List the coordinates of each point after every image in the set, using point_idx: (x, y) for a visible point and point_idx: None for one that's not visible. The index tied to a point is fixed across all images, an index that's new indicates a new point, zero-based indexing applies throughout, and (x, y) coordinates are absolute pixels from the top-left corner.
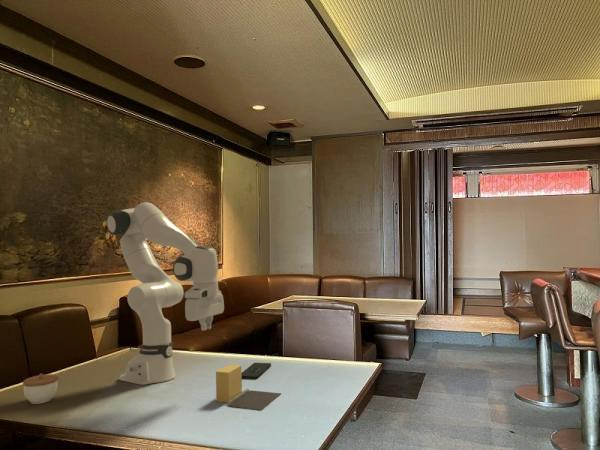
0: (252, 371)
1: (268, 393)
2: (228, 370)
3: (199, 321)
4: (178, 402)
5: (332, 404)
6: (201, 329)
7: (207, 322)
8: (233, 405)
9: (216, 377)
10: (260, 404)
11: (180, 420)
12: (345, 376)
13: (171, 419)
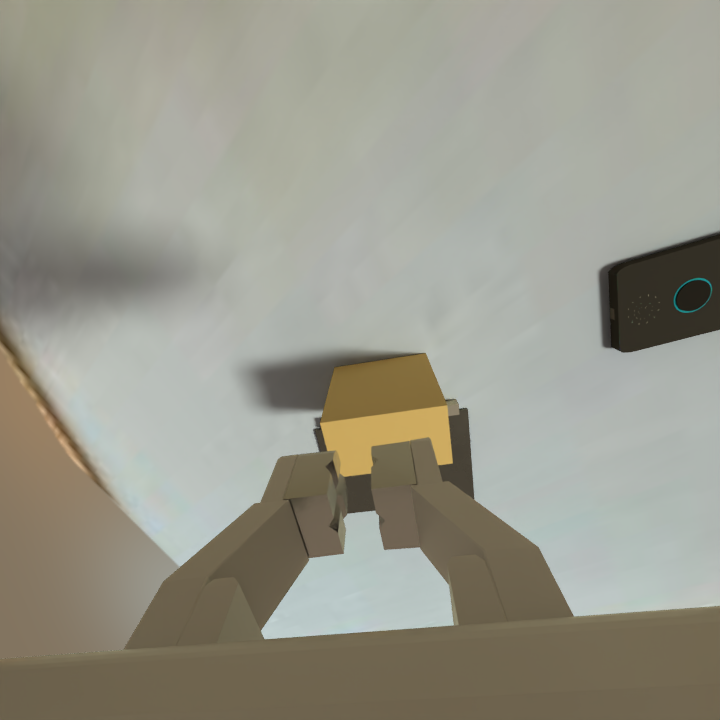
0: (697, 292)
1: (459, 471)
2: (361, 458)
3: (175, 579)
4: (251, 252)
5: (449, 611)
6: (280, 460)
7: (427, 521)
8: (323, 441)
9: (324, 410)
10: (367, 496)
11: (159, 378)
12: (696, 573)
13: (145, 350)
